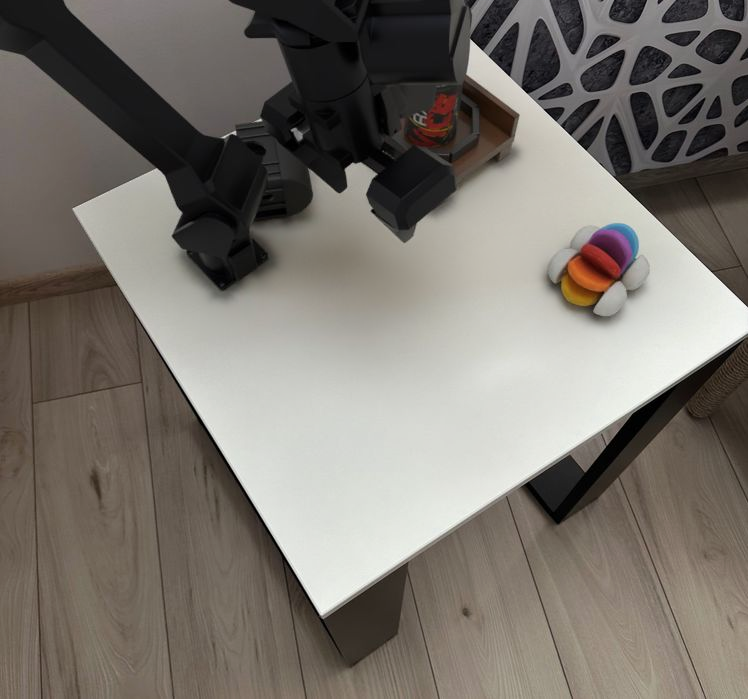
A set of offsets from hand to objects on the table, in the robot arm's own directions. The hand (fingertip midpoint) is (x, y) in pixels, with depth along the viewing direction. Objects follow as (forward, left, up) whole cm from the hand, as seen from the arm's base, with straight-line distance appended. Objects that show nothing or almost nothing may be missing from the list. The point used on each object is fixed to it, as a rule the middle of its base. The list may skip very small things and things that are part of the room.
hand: (374, 213), depth 70 cm
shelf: (-10, +18, -12) cm, 24 cm away
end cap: (-17, +1, -12) cm, 21 cm away
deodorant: (-10, +18, -9) cm, 22 cm away
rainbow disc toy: (+15, +18, -12) cm, 26 cm away
